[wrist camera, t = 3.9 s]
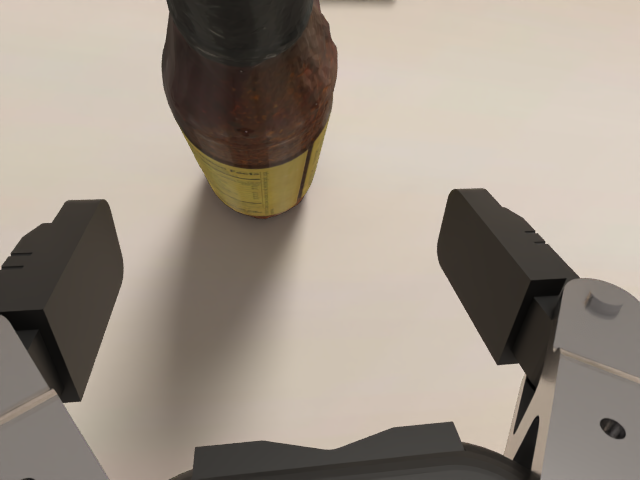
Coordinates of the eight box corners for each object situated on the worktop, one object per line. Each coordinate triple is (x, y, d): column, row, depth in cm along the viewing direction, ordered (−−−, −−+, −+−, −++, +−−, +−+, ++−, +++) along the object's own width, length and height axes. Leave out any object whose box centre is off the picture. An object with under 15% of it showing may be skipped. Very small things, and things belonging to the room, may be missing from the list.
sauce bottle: (264, 106, 28) (260, -365, 9) (332, 178, 28) (482, -151, 9) (182, 172, 27) (-30, -215, 8) (253, 248, 27) (220, 46, 7)
